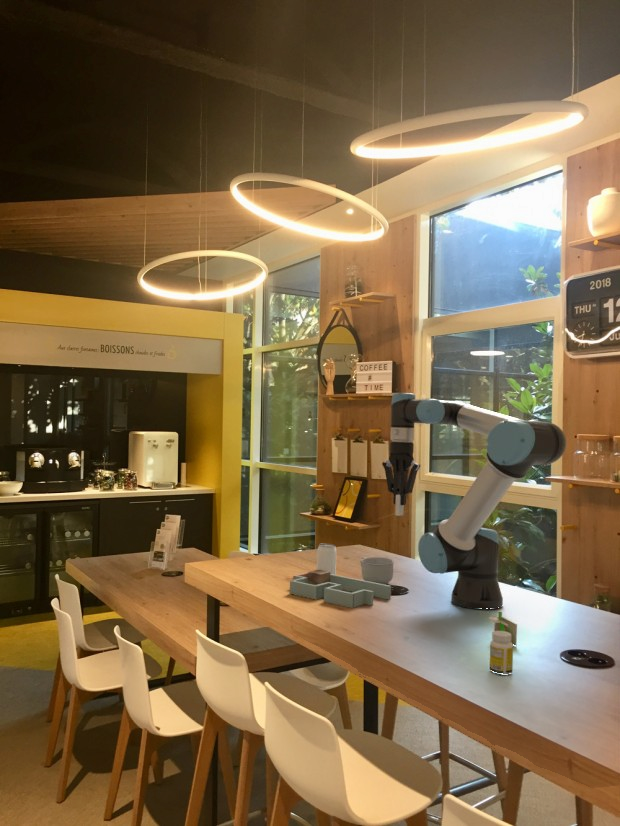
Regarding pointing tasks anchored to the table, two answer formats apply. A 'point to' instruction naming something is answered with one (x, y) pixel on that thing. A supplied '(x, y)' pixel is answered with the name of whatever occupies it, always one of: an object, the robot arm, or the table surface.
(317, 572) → the block
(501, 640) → the supplement bottle
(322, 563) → the can
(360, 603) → the box
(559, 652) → the table surface
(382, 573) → the teacup
